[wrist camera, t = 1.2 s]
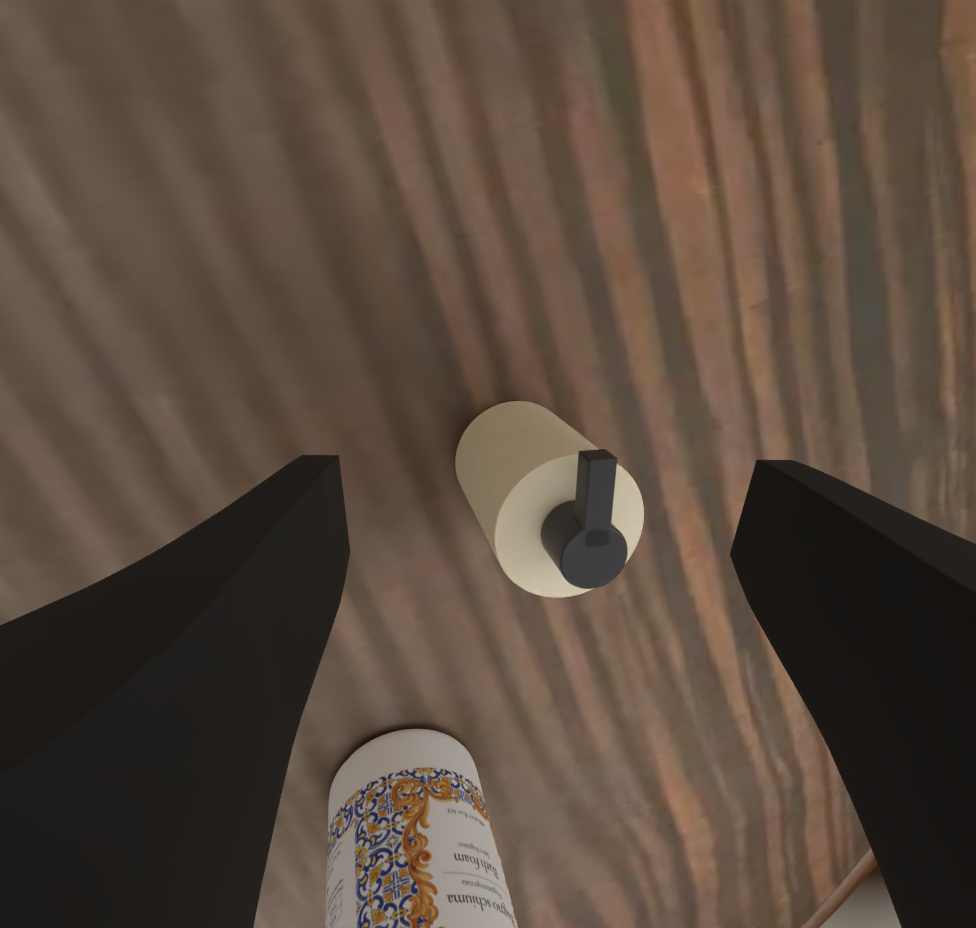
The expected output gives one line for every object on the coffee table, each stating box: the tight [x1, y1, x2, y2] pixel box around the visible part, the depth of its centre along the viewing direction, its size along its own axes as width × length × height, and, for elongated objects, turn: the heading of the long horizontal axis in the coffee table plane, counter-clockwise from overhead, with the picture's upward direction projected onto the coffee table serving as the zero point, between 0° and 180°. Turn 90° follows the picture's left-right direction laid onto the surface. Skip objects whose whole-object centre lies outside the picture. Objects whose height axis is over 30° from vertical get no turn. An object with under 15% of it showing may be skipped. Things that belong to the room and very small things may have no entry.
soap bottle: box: [455, 401, 644, 598], centre depth 20 cm, size 5×5×8 cm
